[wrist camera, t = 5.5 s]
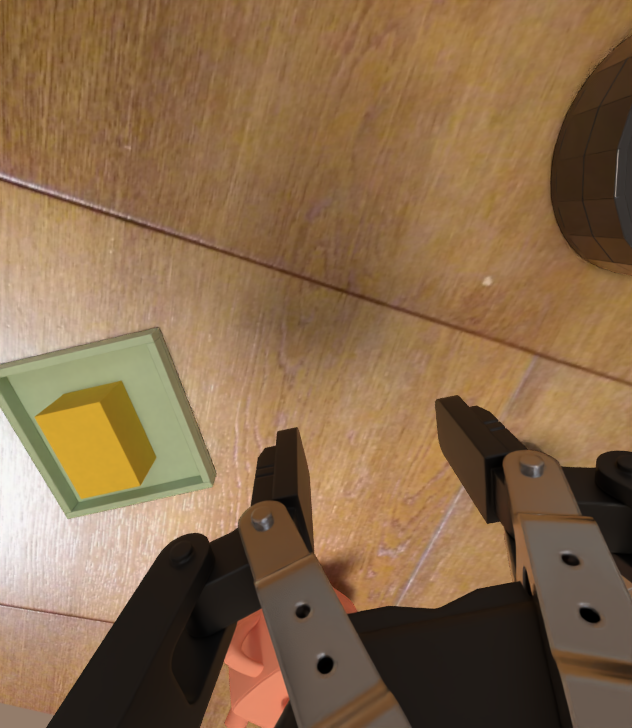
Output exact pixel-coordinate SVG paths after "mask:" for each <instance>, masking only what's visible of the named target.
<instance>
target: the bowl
mask: <svg viewBox="0 0 632 728" xmlns="http://www.w3.org/2000/svg"><path fill="white" fill-rule="evenodd" d="M551 192H552V202H553V207H554V212H555V216H556V219H557V222H558V224H559V227H560V229H561V231H562V233H563V235H564V237H565V238H566V240H567V241H568V242H569V244H570V245H571V246H572V248H573V249H574V250H575V251H576V252H577V253H578V254H579V255H580V256H581V257H583V258H584V259H586V260H587V261H589V262H590V263H592V264H594V265H596V266H598V267H601V268H603V269H607V270H610V271H611V272H614V273H620V274H626V275H631V276H632V35H631V36H630V37H628V38H627V39H626V40H625V41H624V42H622V43H621V44H620V45H619V46H617V47H616V48H615V49H614V50H613V51H612V52H611V53H610V54H609V55H608V56H607V57H606V58H605V59H604V60H603V61H602V62H601V63H600V65H599V66H598V67H597V68H596V70H595V71H594V72H593V73H592V74H591V76H590V77H589V78H588V80H587V81H586V83H585V84H584V86H583V87H582V89H581V90H580V92H579V93H578V95H577V96H576V98H575V100H574V102H573V104H572V106H571V108H570V110H569V112H568V114H567V116H566V118H565V121H564V123H563V126H562V128H561V131H560V134H559V138H558V141H557V144H556V148H555V153H554V158H553V164H552V175H551Z"/></svg>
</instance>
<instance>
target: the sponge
mask: <svg viewBox="0 0 632 728" xmlns="http://www.w3.org/2000/svg"><path fill="white" fill-rule="evenodd" d="M34 418H35V419H36V421H37V423H38V425H39V426H40V428H41V430H42V432H43V433H44V435H45V437H46V438H47V440H48V442H49V444H50V445H51V447H52V449H53V451H54V452H55V454H56V456H57V458H58V459H59V461H60V463H61V465H62V466H63V468H64V470H65V472H66V473H67V475H68V477H69V479H70V480H71V482H72V484H73V486H74V487H75V489H76V491H77V493H78V494H79V496H80V498H81V499H84V498H89V497H93V496H98V495H102V494H107V493H111V492H116V491H120V490H125V489H129V488H134V487H138V486H141V484H142V483H143V481H144V479H145V477H146V475H147V474H148V472H149V470H150V468H151V467H152V465H153V463H154V461H155V460H156V455H155V453H154V451H153V448H152V446H151V444H150V442H149V440H148V437H147V435H146V433H145V431H144V429H143V426H142V424H141V422H140V420H139V418H138V415H137V413H136V411H135V409H134V407H133V404H132V402H131V400H130V398H129V396H128V393H127V391H126V389H125V387H124V385H123V383H122V381H118V382H113V383H109V384H105V385H100V386H96V387H92V388H87V389H83V390H79V391H74V392H70V393H66V394H63V395H62V396H61V397H59V398H58V399H57V400H55V401H54V402H53V403H52V404H50V405H49V406H48V407H46V408H45V409H44V410H43V411H41V412H40V413H39V414H37V415H36V416H35V417H34Z"/></svg>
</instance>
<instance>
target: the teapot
mask: <svg viewBox="0 0 632 728" xmlns="http://www.w3.org/2000/svg"><path fill="white" fill-rule="evenodd" d="M333 589H334V591H335V593H336V595H337V597H338V598H339V600H340V602H341V604H342V606H343V608H344V610H345V611H346V613H347V614H349V613H354V612H357V610H356V608H355V606H354V604H353V602H352V601H351V600H350V599H349V598H347V597H346V596H345V595H343V594H342V593H341V592H339V591H338V590H336V589H335V588H333ZM224 662H225V663H226V664H227V665H228V666H229V684H230V697H231V706H232V707H231V709H230V711H229V714H228V716H227V718H226V720H225V722H224V723H225V725H226V727H227V728H246V726H247V724H248V721H249V722H251V723H253V724H256V725H258V726H260V727H262V728H274V726H275V725H276V723H277V721H278V719H279V717H280V715H281V714H282V712H283V710H284V708H285V706H286V704H287V703H288V701H289V696H288V693H287V689H286V686H285V683H284V680H283V676H282V673H281V670H280V667H279V663H278V660H277V657H276V654H275V650H274V647H273V644H272V641H271V637H270V634H269V631H268V628H267V624H266V621H265V618H264V615H263V611H262V609H260V610H258V611H256V612H254V613H252V614H250V615H249V616H247V617H245V618H243V619H241V620H239V621H238V622H237V626H236V629H235V632H234V634H233V637H232V640H231V643H230V646H229V648H228V651H227V654H226V657H225V659H224Z"/></svg>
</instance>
